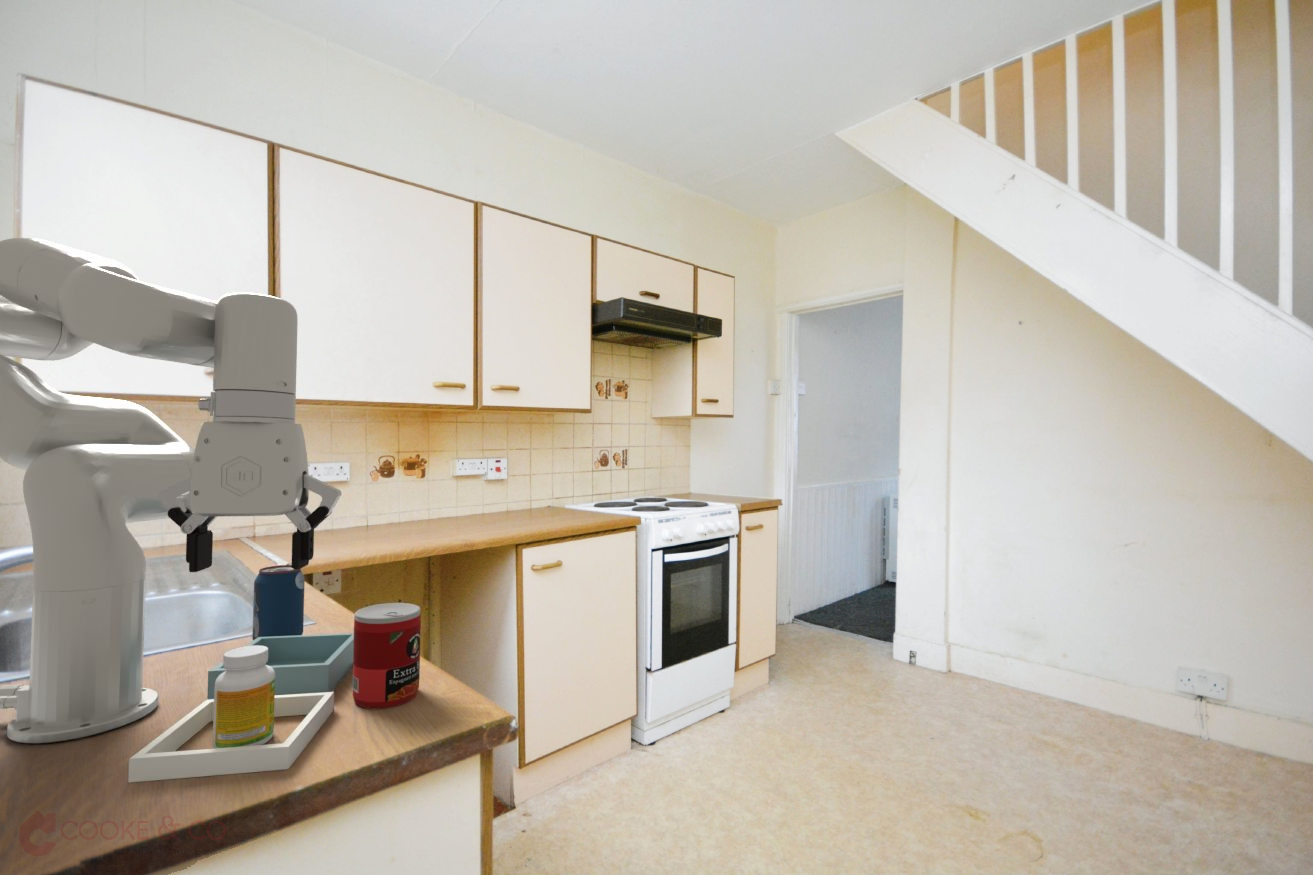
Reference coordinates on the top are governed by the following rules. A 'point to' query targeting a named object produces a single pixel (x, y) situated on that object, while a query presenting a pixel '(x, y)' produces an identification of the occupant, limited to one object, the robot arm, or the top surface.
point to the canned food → (386, 654)
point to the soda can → (278, 602)
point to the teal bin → (302, 662)
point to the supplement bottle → (244, 699)
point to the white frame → (168, 764)
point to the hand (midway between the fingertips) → (251, 568)
